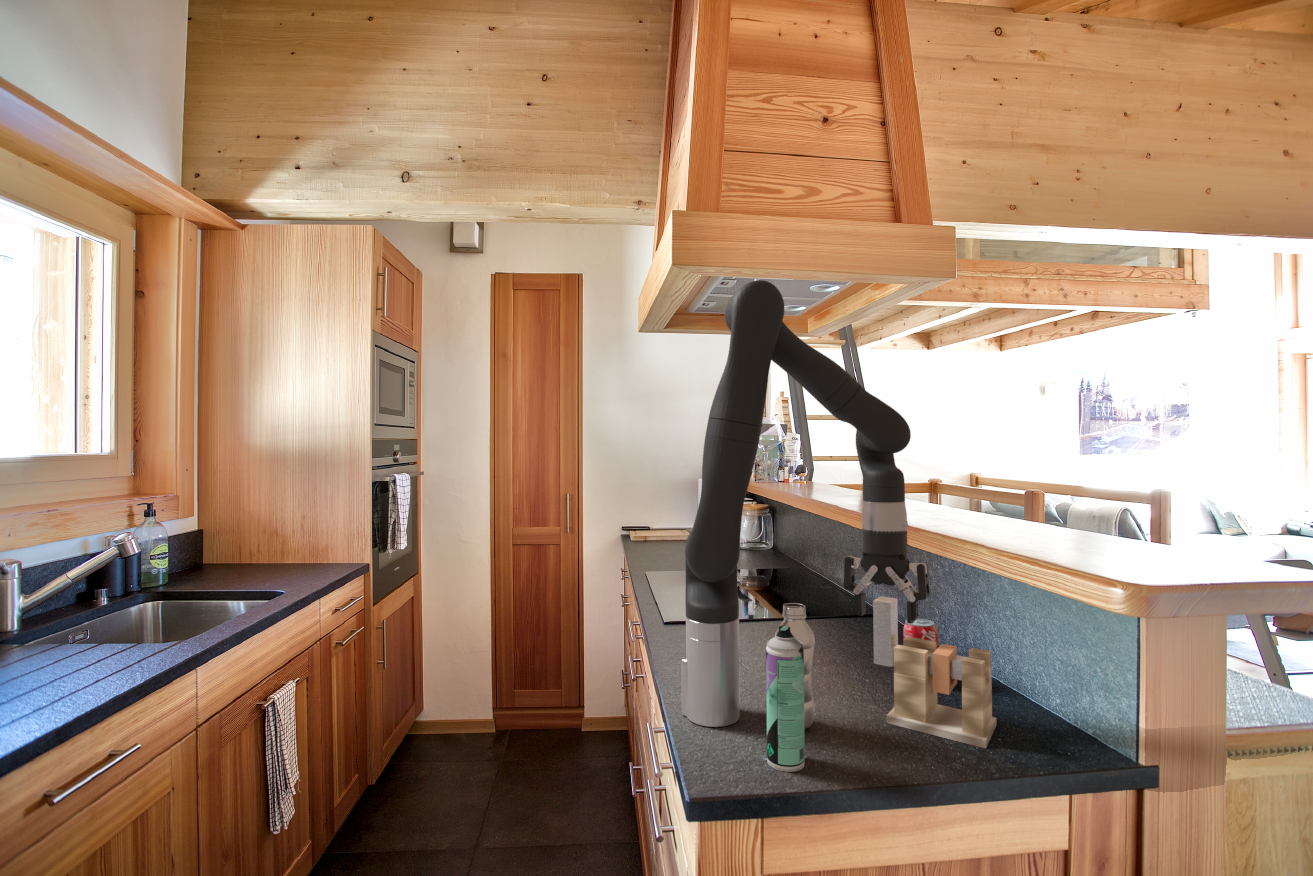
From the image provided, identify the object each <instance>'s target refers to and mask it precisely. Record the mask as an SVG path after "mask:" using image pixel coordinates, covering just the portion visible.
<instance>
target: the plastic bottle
mask: <svg viewBox="0 0 1313 876" xmlns="http://www.w3.org/2000/svg"><path fill="white" fill-rule="evenodd" d="M782 618H783V620H782V622H781V623H780V624H779V626H783V625H785V626H789V627H790V632H791V633H792V635H794V638H795V639H797V640H798V641H800V642H802V643H803V649H804V730H806V729H808V728H810V727H811V726H812V724H813V723H814V721H815V716H816V708H815V707H816V706H815V701H814V698H813V697H814V696H813V687H812V686H813V685H812V668H813V657H814V651H815V642H816V641H815V640H816V638H815V635H814V631H813V630H812V629H811V627H810V625H809V624H808V623H807V621H806V620H805V619H806V618H807V614H806V605H804V604H802V603H798V602H797V603H796V602H793V603H792V602H789V603H783V606H782ZM779 626H778V628H777V629H776V630H775V634H777V632H779Z"/></svg>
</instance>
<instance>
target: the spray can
mask: <svg viewBox="0 0 1313 876" xmlns="http://www.w3.org/2000/svg"><path fill="white" fill-rule="evenodd" d="M778 627H779V632H777V634H776V633H775V634H774V637H772V638H771V639H768V640H767V641H766V646H765V658H766V659H765V664H766V665H765V666H766V667H765V669H766V670H765V673H766V676H765V677H766V679H765V681H766V683H765V684H766V688H765V689H766V690H765V691H766V695H765V696H766V760H767V764H768V765H769V766H770V767H771V768H773V770H774V769H775V770H777V771H779V772H787V773H790V772H791V773H792V772H798V771H800V770H802V769H804V767H805V764H806V763H805V761H806V760H805V759H806V757H805V755H806V754H805V752H806V751H805V750H806V749H805V745H806V744H805V743H806V742H805V729H804V649H803V643H802V642H800V641H798V640H797V639H795V638H794V635H792V633H791V632H790V627H789V626H785V625H783V626H780V625H779V626H778Z"/></svg>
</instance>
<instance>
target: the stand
mask: <svg viewBox="0 0 1313 876" xmlns="http://www.w3.org/2000/svg"><path fill="white" fill-rule="evenodd" d="M902 639H903V643H902V644H898V645H896V646H895V647H894V667H893V707H892V709H891V710H890V711H889V712H888V713H887V714H886V717H885V718H886V720H885V721H886V724H888V725H889V724H890V725H893V726H898V727H902V728H905V729H909V730H913V731H917V732H920V733H925V734H927V735H928V734H929V735H933V736H936V737H940V738H943V739H947V740H951V741H954V742H955V741H956V742H959V743H964V744H967V745H971V746H974V747H978V748H982V749H987V747H988V745H989V743H990V741H991V738H992V736H993V734H994V732H995V730H996V727H997V725H998V724H997V721H998V720H997V717H995V716H993V689H992V687H993V685H992V684H993V681H992V680H993V678H992V677H993V676H992V650H986V649H980V648H974V647H970V649H969V650H968V656H963V657H964V658H963V659H962V680H961V709H960V708H956V707H951V706H947V705H942V704H938V692H933V675H932V674H929V673H928V650H931V651H936V642H935V641H930V640H924V639H918V638H912V637H905V638H904V637H903V638H902ZM902 645H903V646H902ZM907 646H909V647H907ZM913 647H914V648H913ZM918 648H920V649H918ZM924 649H925V650H924ZM968 657H969V658H968ZM973 658H974V659H973Z"/></svg>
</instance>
